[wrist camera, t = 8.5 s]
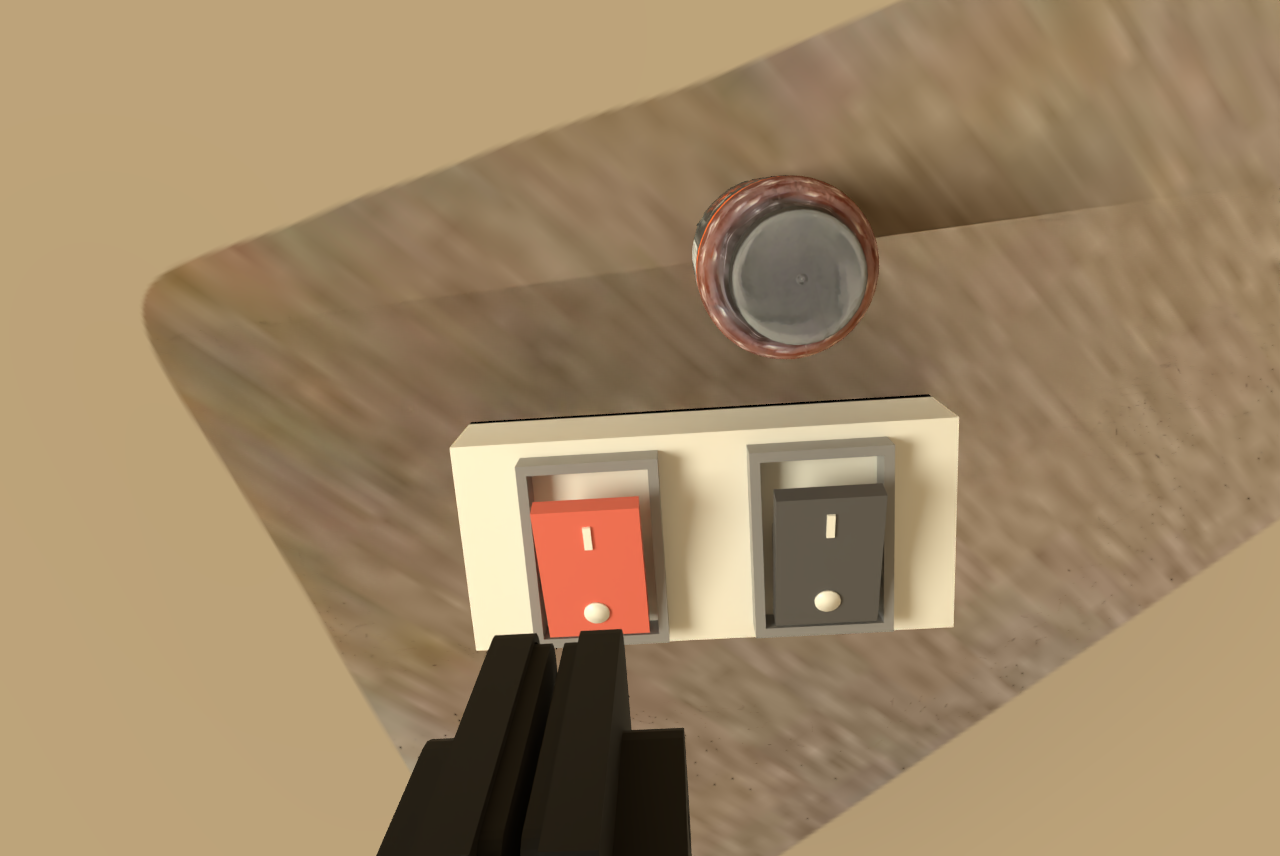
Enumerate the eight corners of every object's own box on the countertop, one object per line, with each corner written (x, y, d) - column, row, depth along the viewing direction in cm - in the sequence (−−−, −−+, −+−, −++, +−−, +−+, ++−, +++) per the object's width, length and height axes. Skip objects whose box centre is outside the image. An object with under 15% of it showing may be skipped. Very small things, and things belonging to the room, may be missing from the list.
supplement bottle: (803, 153, 35) (866, 136, 24) (854, 289, 36) (935, 331, 26) (667, 214, 36) (669, 224, 25) (722, 345, 37) (746, 408, 26)
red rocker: (639, 477, 34) (638, 509, 32) (649, 597, 36) (649, 634, 35) (536, 483, 34) (529, 515, 32) (555, 602, 37) (549, 639, 35)
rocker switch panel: (928, 394, 38) (969, 425, 33) (925, 585, 40) (962, 641, 35) (471, 422, 38) (442, 456, 33) (494, 607, 41) (470, 665, 36)
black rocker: (874, 463, 33) (888, 497, 31) (865, 585, 36) (877, 622, 34) (769, 470, 33) (776, 503, 31) (769, 590, 36) (775, 627, 34)
